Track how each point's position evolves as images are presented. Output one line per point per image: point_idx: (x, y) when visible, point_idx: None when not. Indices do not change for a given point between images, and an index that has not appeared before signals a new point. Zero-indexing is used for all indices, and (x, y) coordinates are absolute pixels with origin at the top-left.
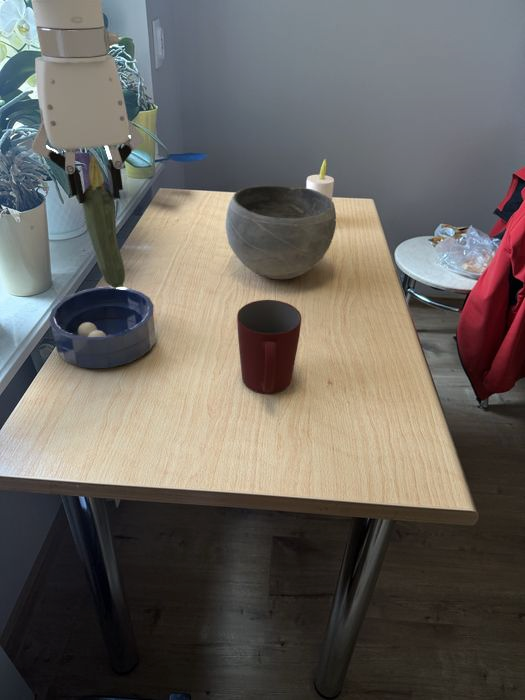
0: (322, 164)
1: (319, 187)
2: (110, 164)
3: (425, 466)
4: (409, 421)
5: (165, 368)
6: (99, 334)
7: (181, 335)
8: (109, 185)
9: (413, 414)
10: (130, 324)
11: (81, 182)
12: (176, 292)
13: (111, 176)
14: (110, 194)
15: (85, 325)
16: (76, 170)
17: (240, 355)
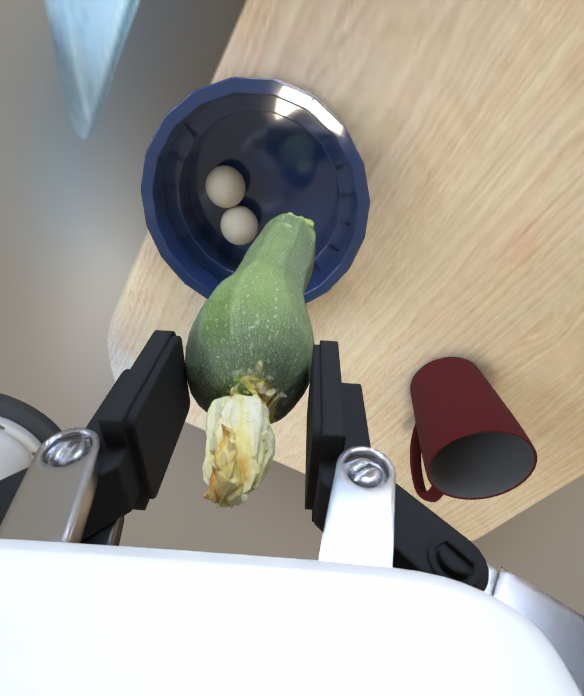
0: None
1: None
2: (314, 519)
3: (476, 518)
4: (519, 487)
5: (331, 307)
6: (241, 239)
7: (399, 233)
8: (312, 368)
9: (533, 483)
10: (320, 163)
11: (165, 471)
12: (497, 24)
13: (305, 485)
14: (297, 401)
15: (219, 196)
16: (133, 497)
17: (418, 410)
